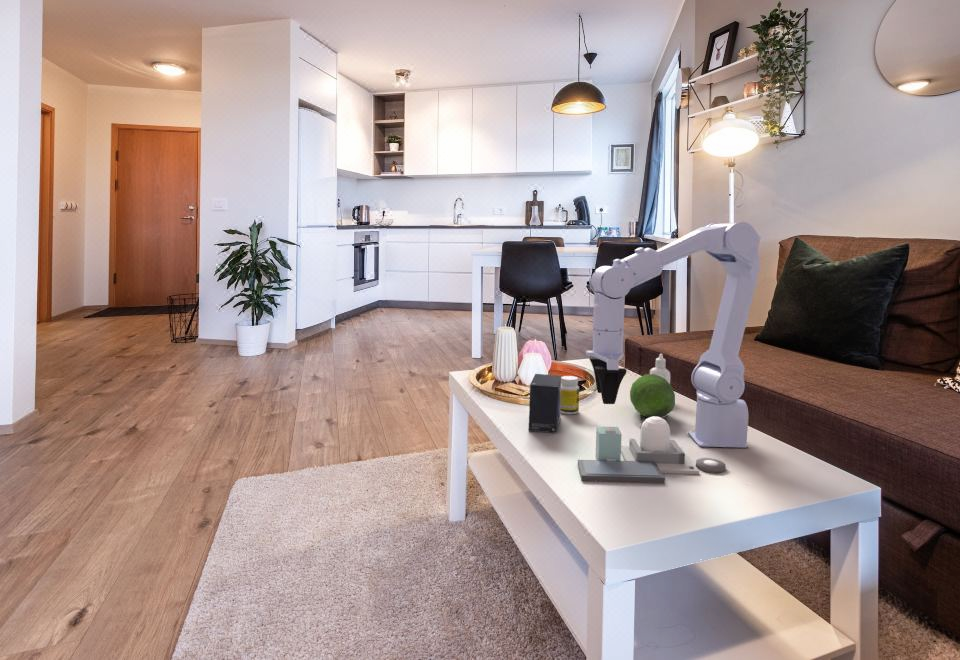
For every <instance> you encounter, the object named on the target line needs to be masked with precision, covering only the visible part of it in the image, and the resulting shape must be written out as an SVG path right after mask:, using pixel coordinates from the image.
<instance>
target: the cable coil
mask: <svg viewBox="0 0 960 660" xmlns="http://www.w3.org/2000/svg"><path fill="white" fill-rule="evenodd" d="M695 466H696V467H697V469H698V470H699V471H703V472H705V473H712V474H720V473H724V472H725V471H726V467H727V466H726V463H725V462H724V461H722V460H719V459H716V458H712V457H700V458H697V459H696V460H695Z"/></svg>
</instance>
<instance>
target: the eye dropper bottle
mask: <svg viewBox="0 0 960 660" xmlns="http://www.w3.org/2000/svg"><path fill="white" fill-rule="evenodd" d="M666 362H667V361H666V358H664V355H663V353H660V354H659V356H658V357H656V358H655V367H652V368H651V369H649V374H655V375H658V376H661V377H663V378H664V379H666V380H667V381H668V383H669V384H670V385H671V372H670V370H668V369H667V368H666V365H667V364H666Z"/></svg>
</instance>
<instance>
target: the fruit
mask: <svg viewBox="0 0 960 660" xmlns="http://www.w3.org/2000/svg"><path fill="white" fill-rule="evenodd" d="M674 391H675V390H674V389H673V387H672V385H671V383H670V384H669V383H668V381H667V380H666V379H664V378H663V377H661V376H658V375H655V374H650V373H646V374H643V375H641V376H639V377H638V378H637V379H636V380H635V381H634V382H633V383H632V385H631V387H630V391H629V399H630V402H631V404H632V405H633V408H634V410H635V411H637V412H638V413H639V414H640V415H642V416H643V417H645V418H647V419H648V418H650V417H653V416H656V417H660V418H664V417H666V416H668V415H669V414H670V413H671V412H672V411H674V408H675V406H676V394H675V392H674Z"/></svg>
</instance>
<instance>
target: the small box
mask: <svg viewBox="0 0 960 660" xmlns="http://www.w3.org/2000/svg"><path fill="white" fill-rule="evenodd" d="M561 377H562V375H556V374H555V375H554V374H543V373H535V374H534V376H533V378H532V380H531V382H530V384H529V404H528V406H529V408H528V409H529V414H528V431H529V432H539V433H540V432H543V433H551V434H552V433H553V434H554V433H555V434H556V433H557V432H558V426H559V423H560V419H561V412H560V411H561Z"/></svg>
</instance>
